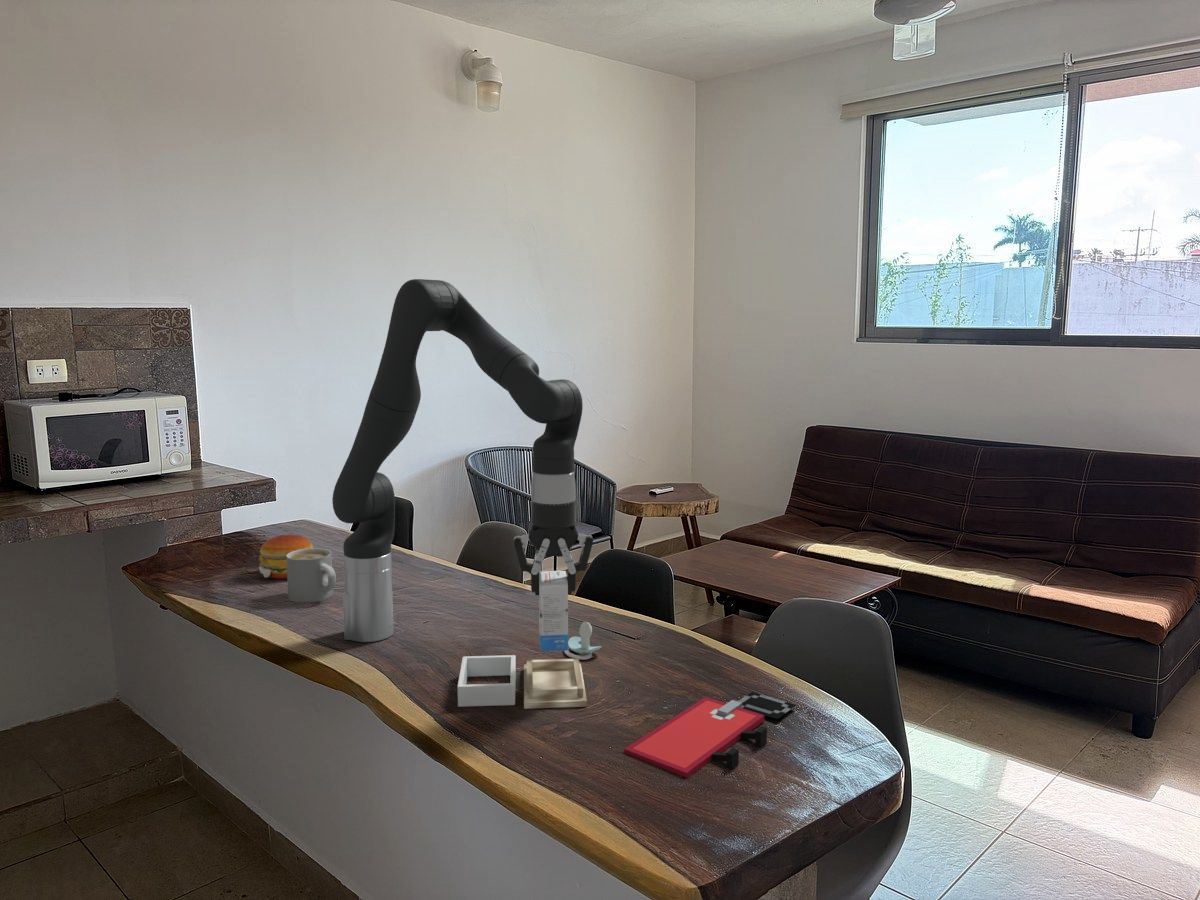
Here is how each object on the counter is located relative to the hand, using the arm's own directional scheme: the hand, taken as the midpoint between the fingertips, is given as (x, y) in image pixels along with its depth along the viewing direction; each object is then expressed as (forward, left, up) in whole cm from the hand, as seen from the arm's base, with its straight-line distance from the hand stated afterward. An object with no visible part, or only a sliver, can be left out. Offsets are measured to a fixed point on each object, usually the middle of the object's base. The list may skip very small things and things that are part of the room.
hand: (553, 593), depth 149 cm
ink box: (0, 0, -9) cm, 9 cm away
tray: (0, 0, -17) cm, 17 cm away
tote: (-11, 0, -17) cm, 21 cm away
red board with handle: (+26, -18, -18) cm, 36 cm away
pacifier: (+6, +15, -17) cm, 24 cm away
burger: (-64, +72, -17) cm, 98 cm away
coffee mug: (-53, +53, -17) cm, 77 cm away
